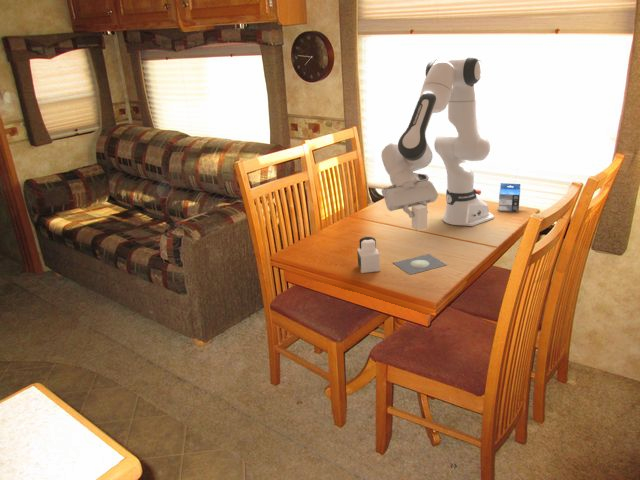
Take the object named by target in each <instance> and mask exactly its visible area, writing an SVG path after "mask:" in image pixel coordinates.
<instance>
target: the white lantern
mask: <svg viewBox="0 0 640 480" xmlns="http://www.w3.org/2000/svg"><path fill="white" fill-rule="evenodd" d="M358 241H359V248H357V249H356V250H357V251H356V253H357V266H358V269H359V272H360V273H361V274H365V273H367V274H369V273H376V272H380V270H381V265H380V253H379V250H378V249H377V240H376V238H374V237H373V236H372V237H371V236H365V237H362V238H360V239H359V240H358Z"/></svg>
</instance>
